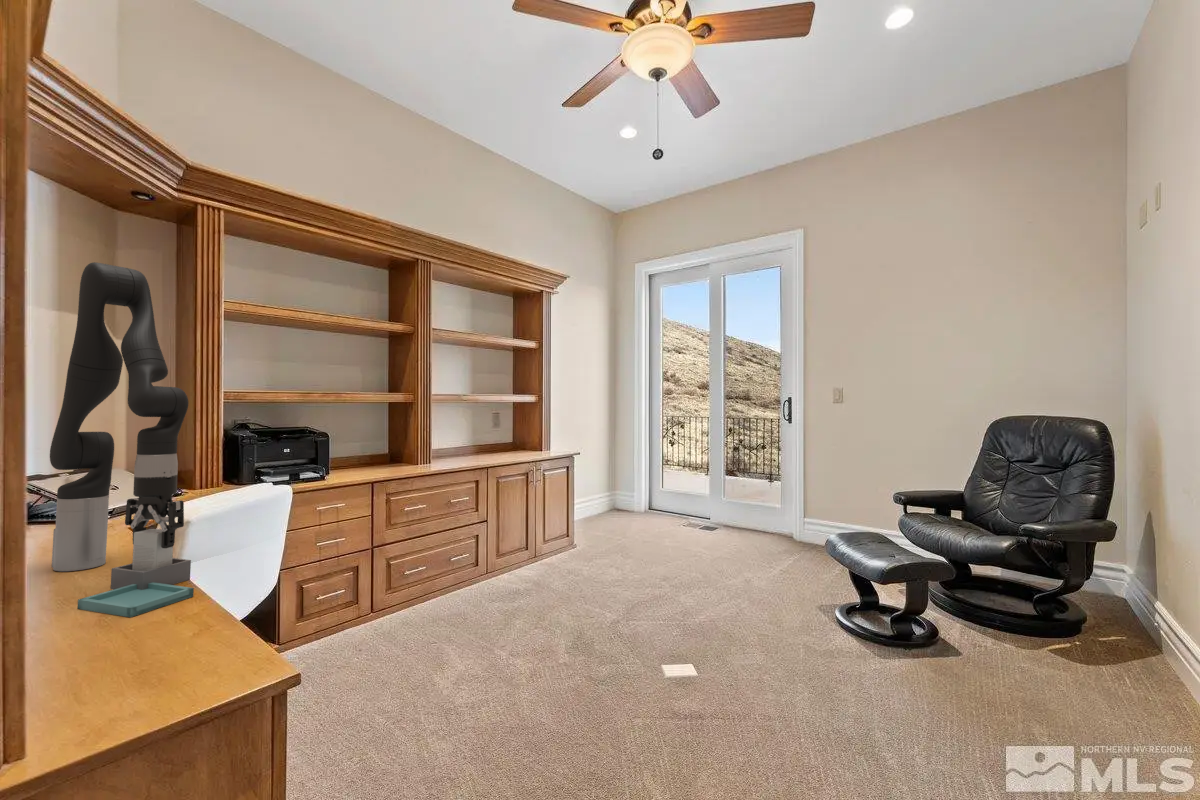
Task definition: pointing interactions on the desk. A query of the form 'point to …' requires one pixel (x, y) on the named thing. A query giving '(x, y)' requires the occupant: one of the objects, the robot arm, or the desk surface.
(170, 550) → the skincare box
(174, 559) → the holder
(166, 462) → the robot arm
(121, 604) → the tray
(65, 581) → the desk surface
